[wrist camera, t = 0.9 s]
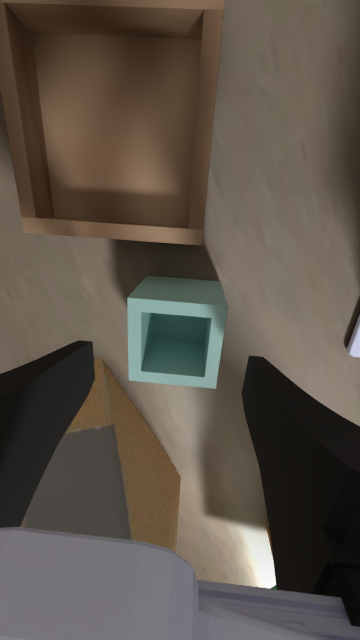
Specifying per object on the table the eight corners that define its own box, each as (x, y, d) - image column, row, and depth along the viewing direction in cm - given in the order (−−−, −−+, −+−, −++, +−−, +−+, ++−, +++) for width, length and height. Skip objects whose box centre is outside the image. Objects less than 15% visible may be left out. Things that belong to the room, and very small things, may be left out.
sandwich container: (103, 352, 20) (-111, 657, 6) (184, 477, 25) (165, 801, 11) (21, 386, 22) (-280, 675, 8) (111, 495, 27) (18, 791, 13)
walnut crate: (221, 25, 12) (226, -19, 10) (201, 241, 16) (201, 245, 14) (20, 18, 13) (-20, -26, 10) (49, 230, 16) (24, 232, 14)
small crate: (220, 281, 17) (227, 306, 12) (211, 346, 19) (215, 388, 14) (146, 275, 17) (127, 297, 13) (145, 340, 19) (128, 380, 14)
